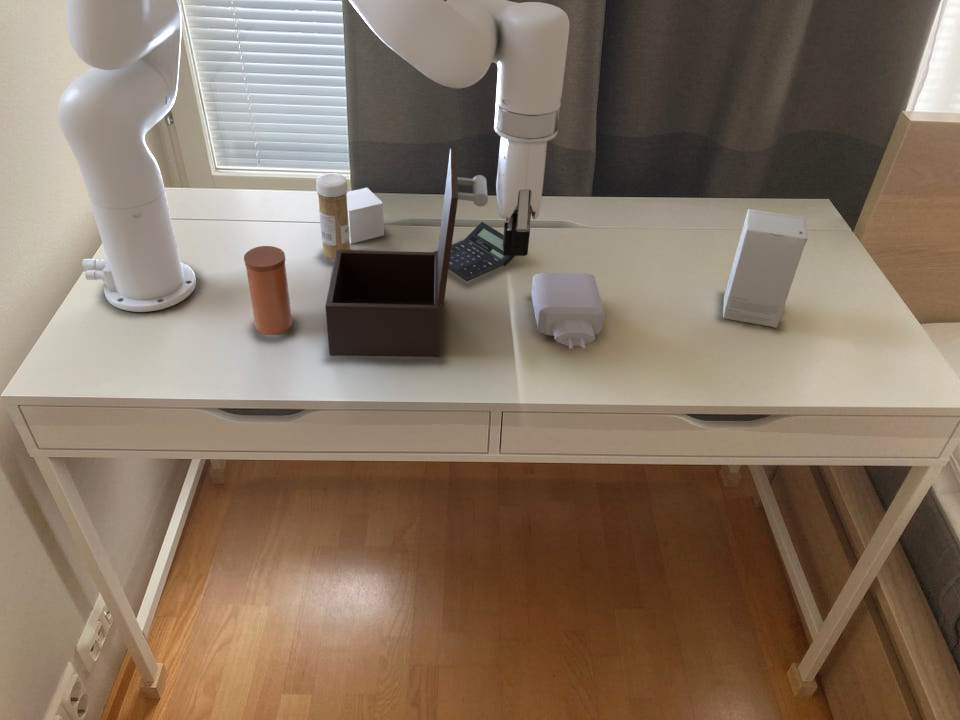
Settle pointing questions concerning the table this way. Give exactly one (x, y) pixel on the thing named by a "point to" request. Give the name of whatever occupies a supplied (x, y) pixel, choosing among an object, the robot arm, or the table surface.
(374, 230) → the white cube
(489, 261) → the calculator
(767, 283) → the cosmetic box
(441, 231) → the lid
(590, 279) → the charger
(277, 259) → the tin
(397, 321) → the dark wooden planter box
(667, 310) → the table surface
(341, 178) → the sprinkles bottle
